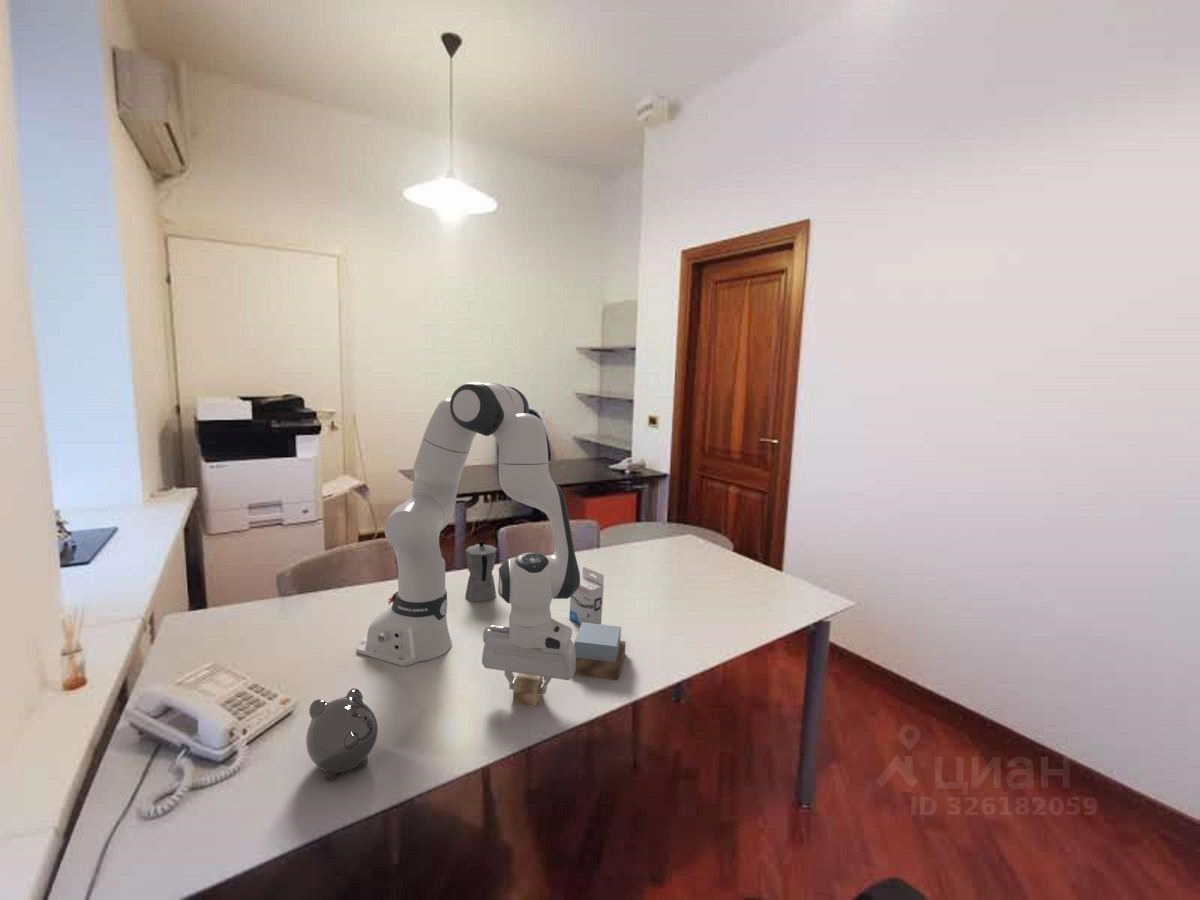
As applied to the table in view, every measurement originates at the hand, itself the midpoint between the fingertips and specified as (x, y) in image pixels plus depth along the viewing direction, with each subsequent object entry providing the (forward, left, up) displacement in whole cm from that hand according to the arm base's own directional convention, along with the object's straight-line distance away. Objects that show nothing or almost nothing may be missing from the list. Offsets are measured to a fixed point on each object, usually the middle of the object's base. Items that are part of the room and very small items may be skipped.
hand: (528, 690), depth 117 cm
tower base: (+12, +18, -2) cm, 22 cm away
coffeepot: (-29, +45, -2) cm, 54 cm away
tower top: (+12, +18, +2) cm, 22 cm away
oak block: (0, 0, -2) cm, 2 cm away
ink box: (+5, +38, -2) cm, 38 cm away
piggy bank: (-26, -26, -2) cm, 37 cm away
